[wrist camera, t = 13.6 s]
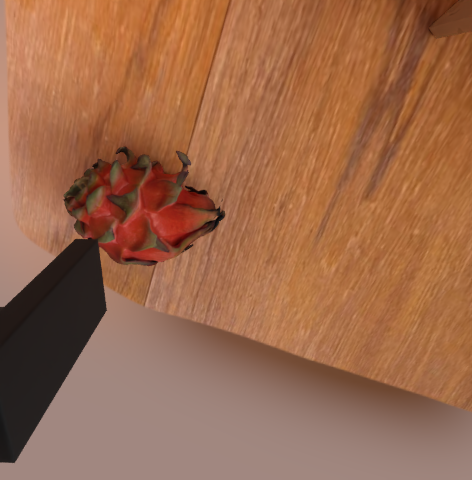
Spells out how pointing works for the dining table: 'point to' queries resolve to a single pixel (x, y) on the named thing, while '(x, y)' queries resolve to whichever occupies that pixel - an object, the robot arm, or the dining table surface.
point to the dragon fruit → (140, 209)
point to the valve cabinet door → (454, 20)
